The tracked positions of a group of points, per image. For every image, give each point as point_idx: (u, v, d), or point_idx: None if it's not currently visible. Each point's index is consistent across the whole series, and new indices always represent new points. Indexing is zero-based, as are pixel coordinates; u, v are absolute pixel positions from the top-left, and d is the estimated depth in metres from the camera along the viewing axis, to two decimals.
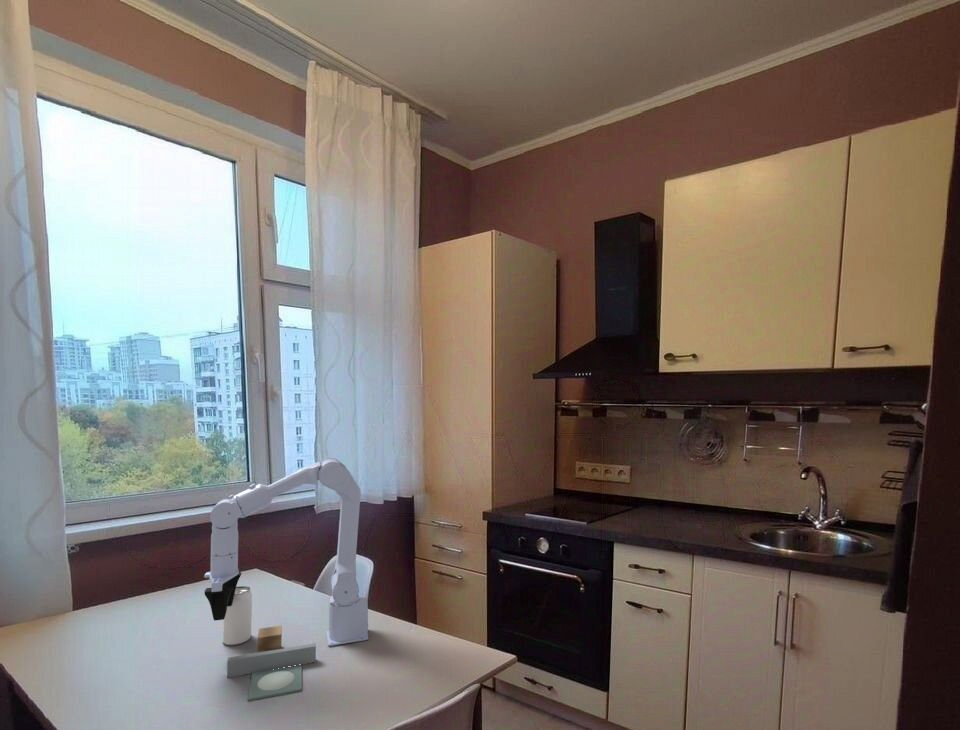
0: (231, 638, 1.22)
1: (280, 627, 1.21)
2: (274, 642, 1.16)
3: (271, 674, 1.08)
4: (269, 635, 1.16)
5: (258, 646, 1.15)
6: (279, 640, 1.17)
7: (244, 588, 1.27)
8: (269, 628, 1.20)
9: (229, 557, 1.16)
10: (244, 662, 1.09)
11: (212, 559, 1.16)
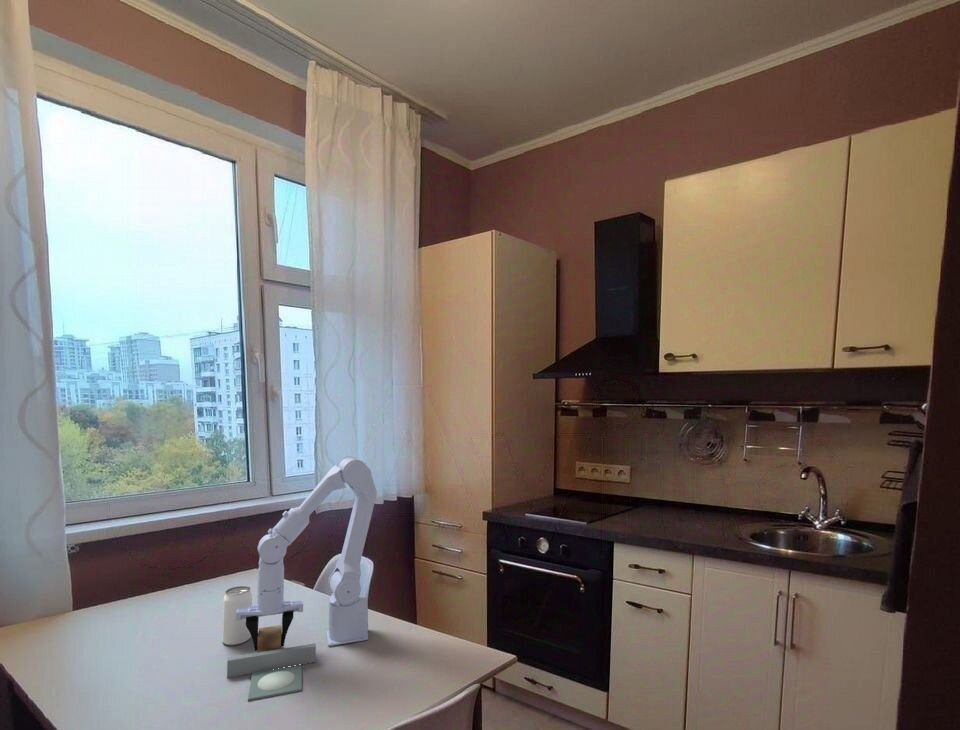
0: (231, 638, 1.22)
1: (280, 627, 1.21)
2: (274, 641, 1.16)
3: (271, 674, 1.08)
4: (269, 635, 1.16)
5: (258, 645, 1.15)
6: (279, 640, 1.17)
7: (244, 588, 1.27)
8: (269, 628, 1.20)
9: (259, 593, 1.17)
10: (244, 662, 1.09)
11: None
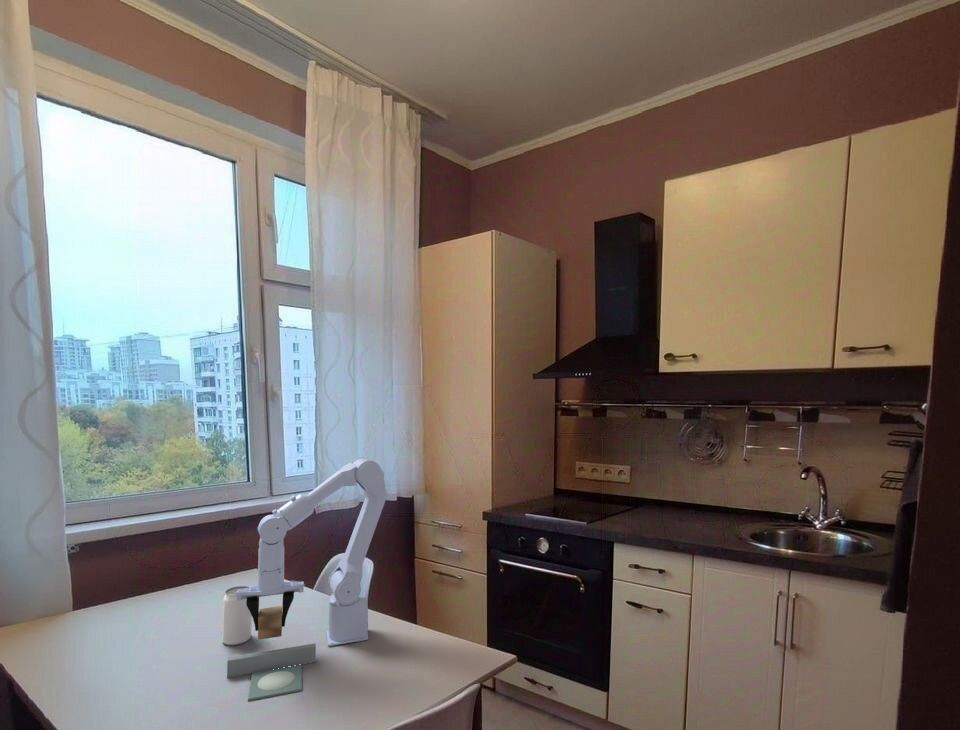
0: (231, 638, 1.22)
1: (281, 607, 1.21)
2: (275, 621, 1.17)
3: (271, 674, 1.08)
4: (269, 615, 1.17)
5: (259, 625, 1.16)
6: (280, 620, 1.17)
7: (244, 588, 1.27)
8: (270, 609, 1.20)
9: (259, 573, 1.17)
10: (244, 662, 1.09)
11: None
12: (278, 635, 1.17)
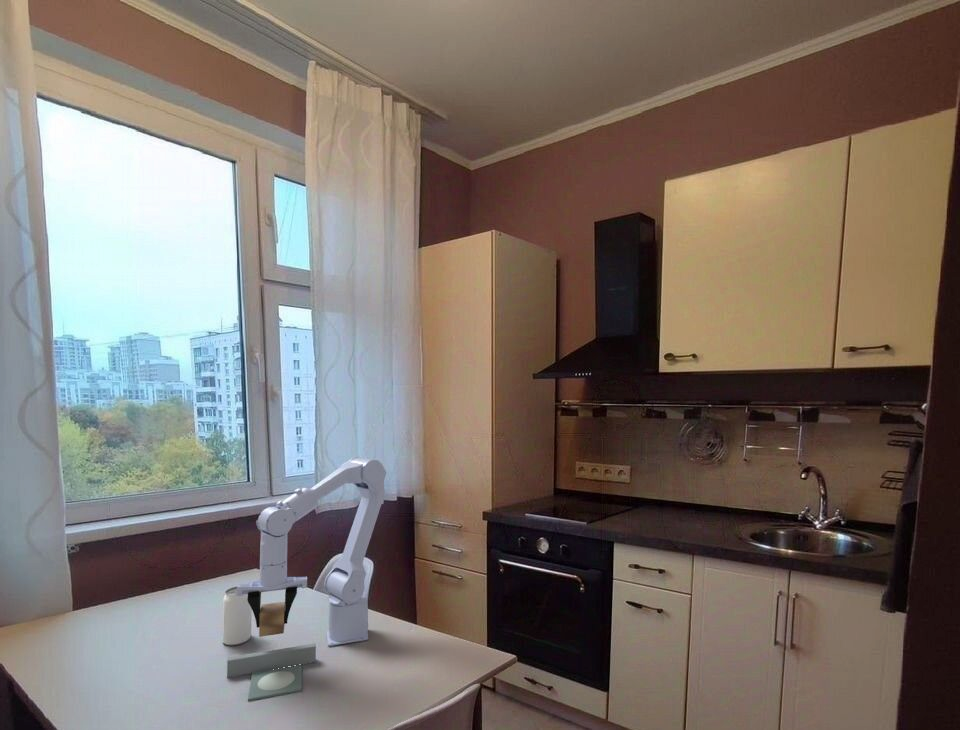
0: (231, 638, 1.22)
1: (283, 603, 1.16)
2: (277, 618, 1.12)
3: (271, 674, 1.08)
4: (271, 611, 1.12)
5: (260, 622, 1.11)
6: (282, 616, 1.12)
7: None
8: (272, 604, 1.15)
9: (261, 567, 1.12)
10: (244, 662, 1.09)
11: None
12: (280, 632, 1.12)
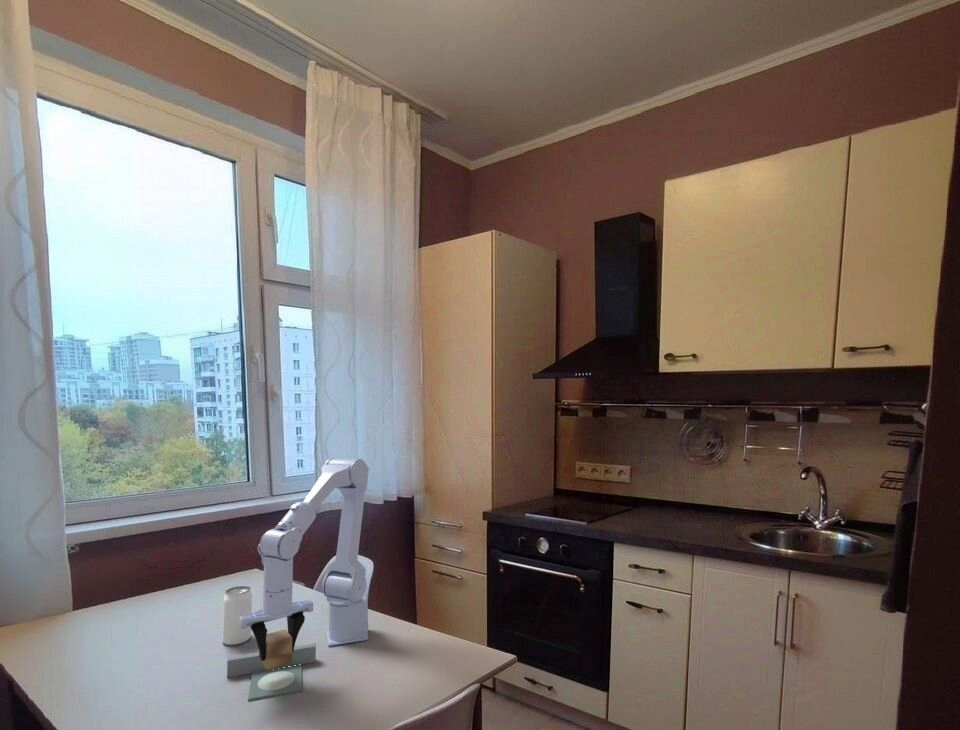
0: (231, 638, 1.22)
1: (285, 631, 1.09)
2: (285, 647, 1.05)
3: (271, 674, 1.08)
4: (279, 640, 1.05)
5: (268, 654, 1.03)
6: (290, 644, 1.06)
7: (244, 588, 1.28)
8: (273, 634, 1.08)
9: (268, 595, 1.04)
10: (244, 662, 1.09)
11: None
12: (288, 662, 1.05)
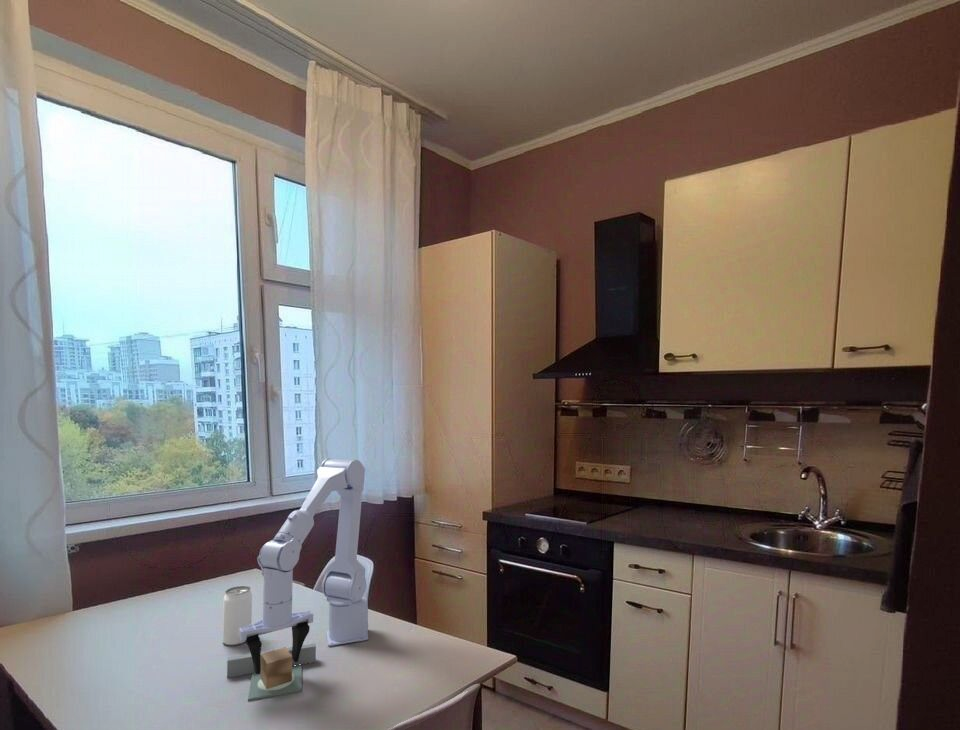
0: (231, 638, 1.22)
1: (285, 649, 1.09)
2: (285, 666, 1.05)
3: None
4: (279, 659, 1.05)
5: (268, 673, 1.03)
6: (290, 663, 1.05)
7: (244, 588, 1.27)
8: (273, 652, 1.07)
9: (267, 606, 1.04)
10: (244, 662, 1.09)
11: None
12: (288, 680, 1.05)
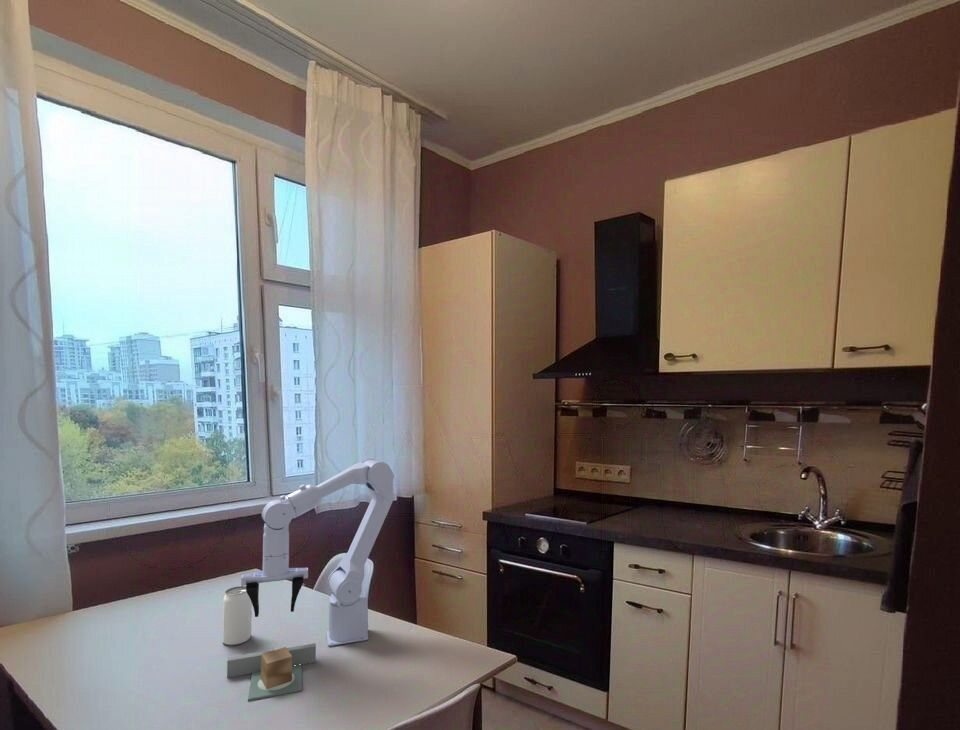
0: (231, 638, 1.22)
1: (285, 649, 1.09)
2: (285, 666, 1.05)
3: None
4: (278, 659, 1.05)
5: (267, 673, 1.03)
6: (290, 663, 1.05)
7: (244, 588, 1.27)
8: (273, 652, 1.07)
9: (264, 558, 1.17)
10: (244, 662, 1.09)
11: None
12: (288, 680, 1.05)
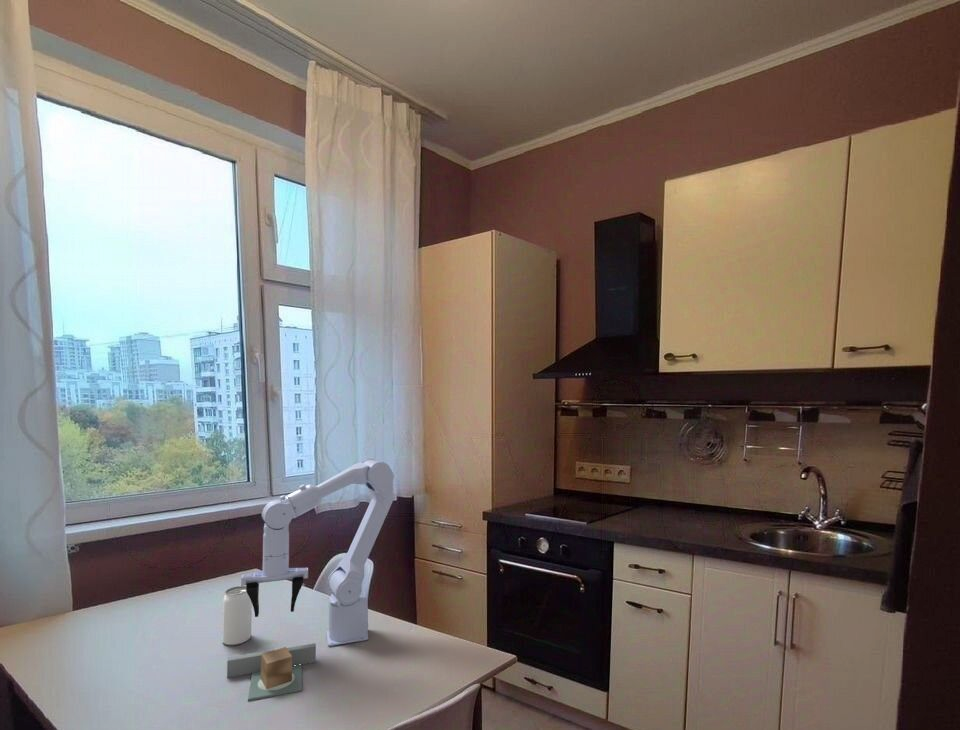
0: (231, 638, 1.22)
1: (285, 649, 1.09)
2: (285, 666, 1.05)
3: None
4: (278, 659, 1.05)
5: (267, 673, 1.03)
6: (290, 663, 1.05)
7: (244, 588, 1.27)
8: (273, 652, 1.07)
9: (264, 558, 1.17)
10: (244, 662, 1.09)
11: None
12: (288, 680, 1.05)
